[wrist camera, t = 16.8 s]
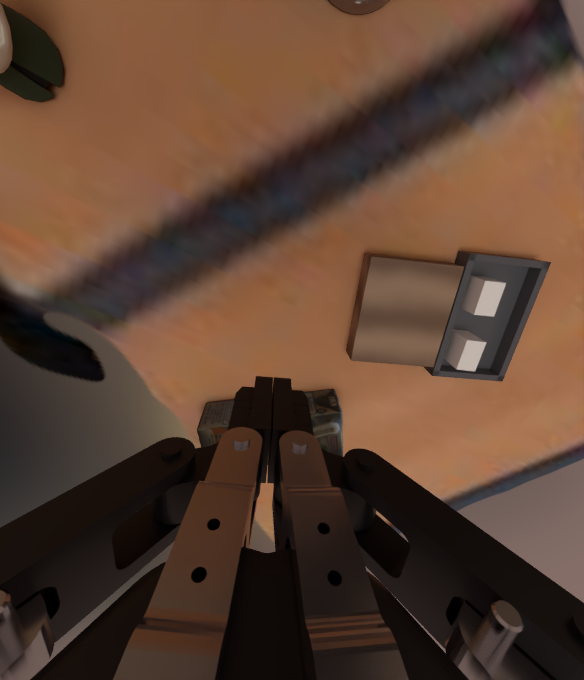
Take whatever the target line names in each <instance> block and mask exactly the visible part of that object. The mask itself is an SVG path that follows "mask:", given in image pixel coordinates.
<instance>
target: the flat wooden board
mask: <svg viewBox="0 0 584 680" xmlns="http://www.w3.org/2000/svg"><path fill="white" fill-rule="evenodd" d="M463 270H464V266H460V265H457V264H453V263H447V262H438V261H429V260H420V259H411V258H402V257H393V256H384V255H374V254H364V260H363V265H362V270H361V276H360V281H359V286H358V291H357V297H356V302H355V307H354V313H353V318H352V323H351V328H350V334H349V339H348V344H347V349H346V351H347V353H348V355H349V357H350V360H352V361H364V362H376V363H388V364H400V365H413V366H425V367H434V364H435V360H436V357H437V354H438V351H439V347H440V344H441V341H442V338H443V334H444V331H445V328H446V325H447V322H448V318H449V315H450V312H451V309H452V305H453V302H454V299H455V296H456V292H457V289H458V286H459V283H460V280H461V276H462V273H463Z"/></svg>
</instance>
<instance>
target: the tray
mask: <svg viewBox="0 0 584 680" xmlns="http://www.w3.org/2000/svg"><path fill="white" fill-rule="evenodd" d="M455 264H457V265H460V266H464V270H463V273H462V276H461V280H460V283H459V286H458V289H457V292H456V296H455V299H454V302H453V305H452V309H451V312H450V315H449V318H448V322H447V325H446V328H445V331H444V334H443V338H442V341H441V344H440V347H439V351H438V354H437V357H436V360H435V364H434V367H425V366H424V368H425V369H426V370H427V371H428V372H429V373H430V374H431V375H432V376H441V377H454V378H466V379H479V380H492V381H503V378H504V376H505V374H506V371H507V369H508V366H509V364H510V361H511V359H512V356H513V354H514V352H515V349H516V347H517V344H518V342H519V339H520V337H521V334H522V332H523V330H524V327H525V325H526V322H527V320H528V317H529V315H530V312H531V310H532V308H533V305H534V303H535V300H536V298H537V295H538V293H539V290H540V288H541V286H542V283H543V281H544V278H545V276H546V273H547V271H548V268H549V266H550V264H551V262H546V261H540V260H535V259H526V258H517V257H508V256H499V255H490V254H481V253H473V252H464V251H458V255H457V258H456V261H455ZM470 275H476V276H485V277H488V278H491V279H495V280H498V281H501V282H505V283H506V285H505V288H504V291H503V293H502V296H501V299H500V302H499V304H498V307H497V310H496V313H495V315H494V317H492V316H482V315H473V314H471V313H469V312H468V311H466V310H464V309H462V308H460V305H461V302H462V299H463V296H464V293H465V290H466V286H467V283H468V280H469V277H470ZM453 329H456V330H464V331H469V332H471V333H472V334H474V335H475V336H477V337H479V338H480V339H482V340H484V341H485V342H487V343H486V345H485V348H484V350H483V353H482V355H481V358H480V360H479V363H478V365H477V368H476V370H475V371H466V370H457V369H455V368H454V367H453V366H452V365H451V364H450V363H448V362H447V361H446V360H445V359H444V355H445V352H446V349H447V346H448V343H449V340H450V337H451V333H452V330H453Z"/></svg>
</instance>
